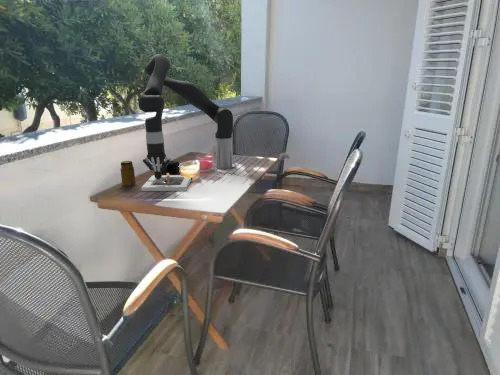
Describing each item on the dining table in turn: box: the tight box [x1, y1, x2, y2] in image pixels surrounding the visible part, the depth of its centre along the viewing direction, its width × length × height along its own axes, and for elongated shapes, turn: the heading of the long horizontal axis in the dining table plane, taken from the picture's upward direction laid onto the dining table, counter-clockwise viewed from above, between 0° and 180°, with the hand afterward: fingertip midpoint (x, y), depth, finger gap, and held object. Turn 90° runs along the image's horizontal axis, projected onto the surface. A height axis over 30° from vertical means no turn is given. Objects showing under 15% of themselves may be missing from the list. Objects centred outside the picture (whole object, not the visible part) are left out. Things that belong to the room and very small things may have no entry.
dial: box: [155, 173, 181, 185], centre depth 168 cm, size 12×11×6 cm
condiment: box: [120, 160, 136, 188], centre depth 167 cm, size 7×8×12 cm
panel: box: [141, 174, 192, 192], centre depth 169 cm, size 20×20×3 cm
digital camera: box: [161, 160, 180, 175], centre depth 188 cm, size 10×5×7 cm, turn 76°
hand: (158, 178), depth 162 cm, fingers closed
